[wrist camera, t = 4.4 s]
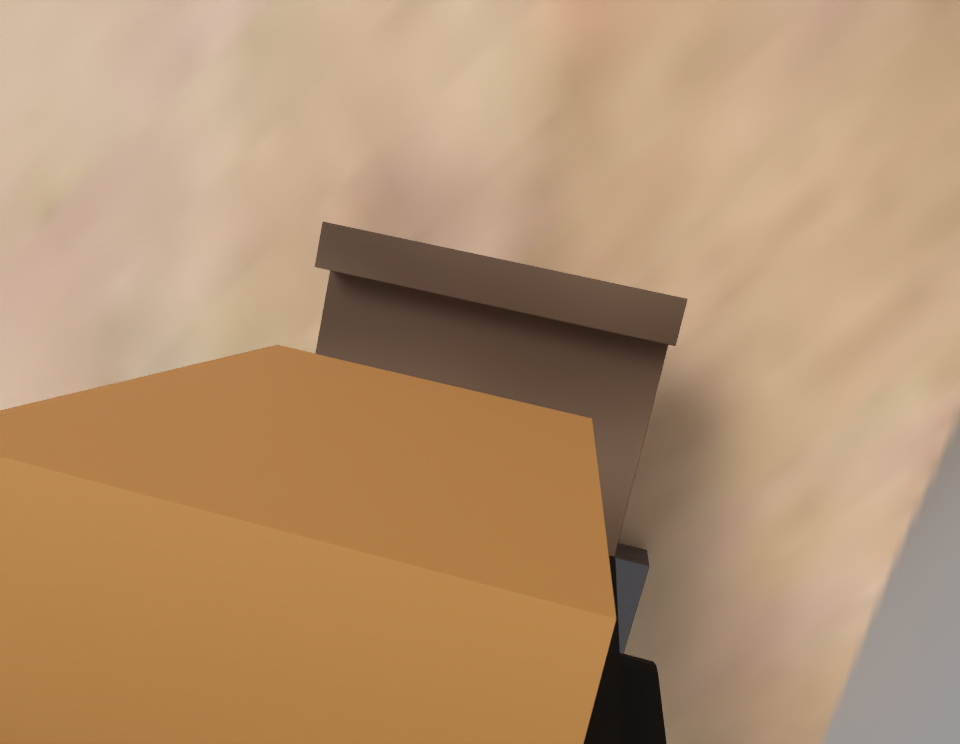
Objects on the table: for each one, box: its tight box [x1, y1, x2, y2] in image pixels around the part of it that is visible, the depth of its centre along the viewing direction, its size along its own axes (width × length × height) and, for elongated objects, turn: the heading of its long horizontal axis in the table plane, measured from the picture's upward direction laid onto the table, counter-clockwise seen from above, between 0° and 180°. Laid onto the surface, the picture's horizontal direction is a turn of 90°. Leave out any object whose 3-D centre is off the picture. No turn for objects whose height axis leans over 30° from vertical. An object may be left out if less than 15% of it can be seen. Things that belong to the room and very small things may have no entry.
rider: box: [0, 345, 616, 744], centre depth 8 cm, size 6×5×6 cm
